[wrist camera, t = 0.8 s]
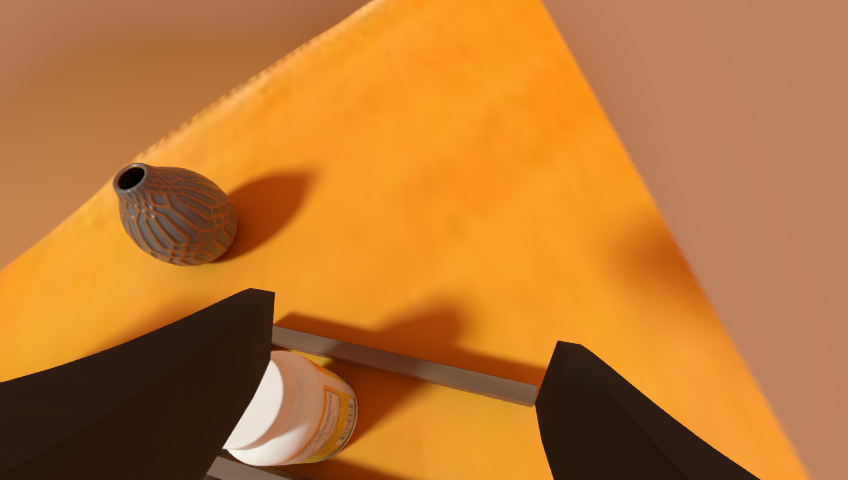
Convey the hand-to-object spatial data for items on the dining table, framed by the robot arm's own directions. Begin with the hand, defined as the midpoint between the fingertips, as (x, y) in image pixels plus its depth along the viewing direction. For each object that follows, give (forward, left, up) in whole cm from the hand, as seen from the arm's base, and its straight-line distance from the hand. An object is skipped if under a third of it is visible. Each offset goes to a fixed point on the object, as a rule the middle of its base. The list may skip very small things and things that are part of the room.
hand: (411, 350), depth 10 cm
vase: (+8, +22, -17) cm, 29 cm away
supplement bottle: (-2, +8, -17) cm, 19 cm away
